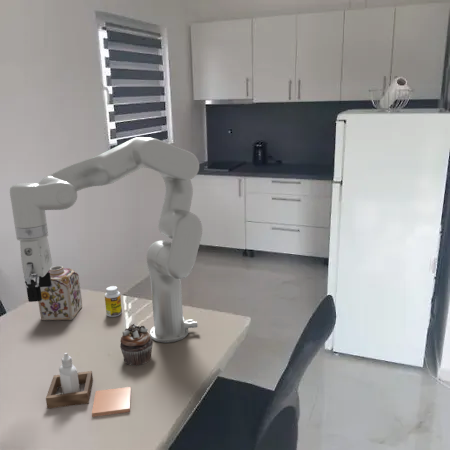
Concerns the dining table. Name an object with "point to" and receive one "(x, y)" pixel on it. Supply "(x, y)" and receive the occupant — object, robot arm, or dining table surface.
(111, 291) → the supplement bottle
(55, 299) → the decorative jar
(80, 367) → the dining table surface
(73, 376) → the eye dropper bottle
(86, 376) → the walnut holder
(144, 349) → the cupcake
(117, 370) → the dining table surface
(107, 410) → the terracotta tile
